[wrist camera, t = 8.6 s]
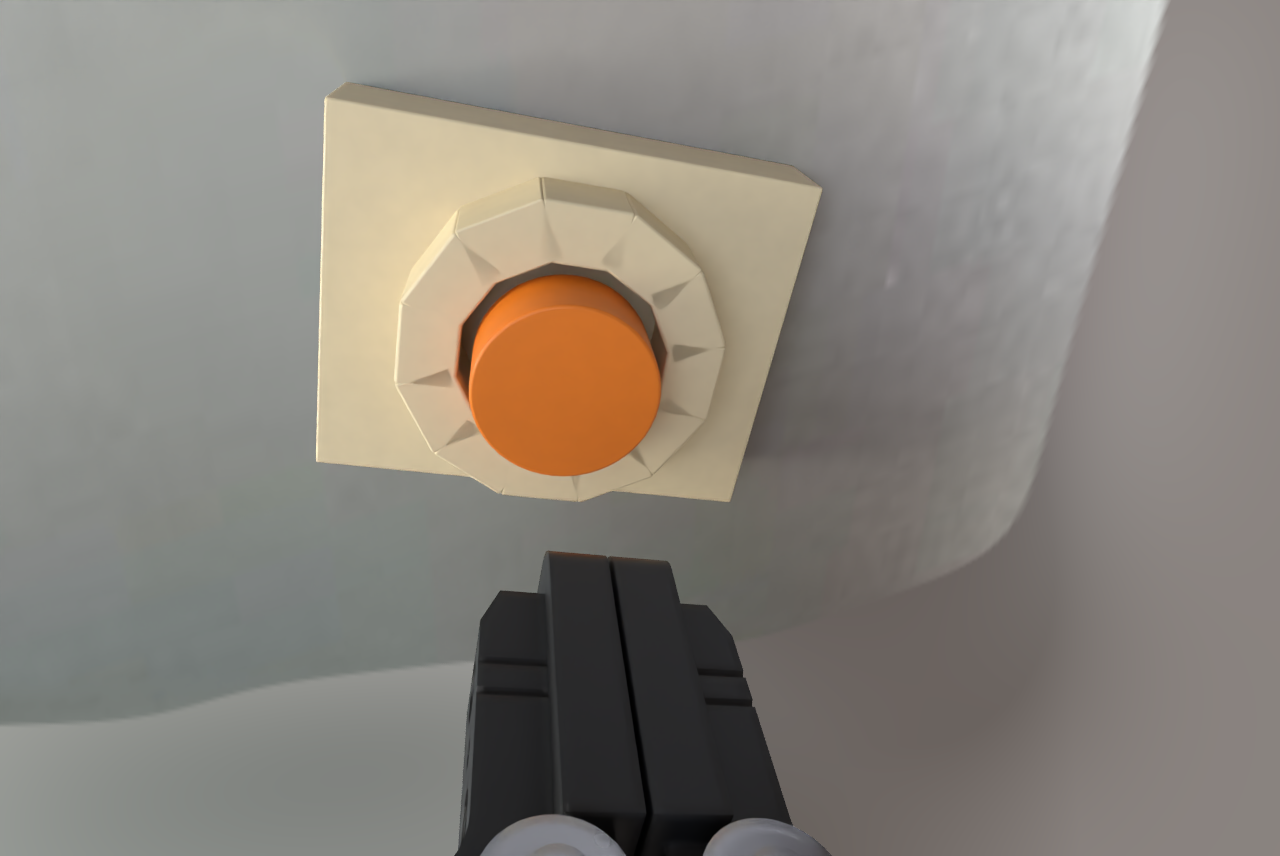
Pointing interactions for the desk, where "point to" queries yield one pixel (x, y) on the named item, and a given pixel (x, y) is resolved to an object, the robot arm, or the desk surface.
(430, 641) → the desk surface
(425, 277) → the button block
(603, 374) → the button
